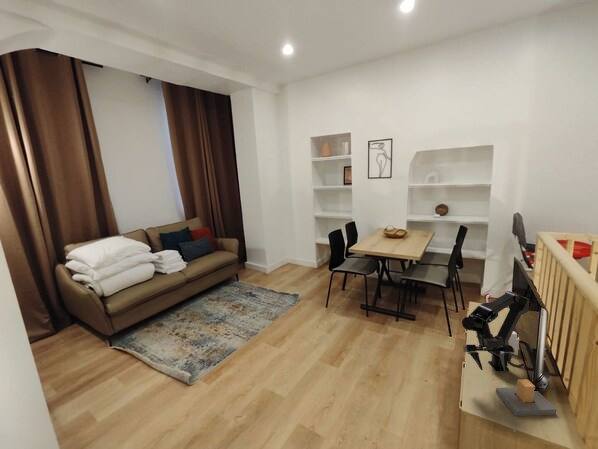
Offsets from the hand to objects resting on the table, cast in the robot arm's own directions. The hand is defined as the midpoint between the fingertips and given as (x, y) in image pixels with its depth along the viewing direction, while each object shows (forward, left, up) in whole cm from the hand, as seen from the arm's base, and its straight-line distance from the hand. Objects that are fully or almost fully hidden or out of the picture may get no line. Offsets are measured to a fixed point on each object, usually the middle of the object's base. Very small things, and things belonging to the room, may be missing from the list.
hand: (493, 370), depth 120 cm
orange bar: (+4, +11, -13) cm, 18 cm away
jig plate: (+4, +11, -13) cm, 18 cm away
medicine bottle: (-30, +29, -13) cm, 44 cm away
